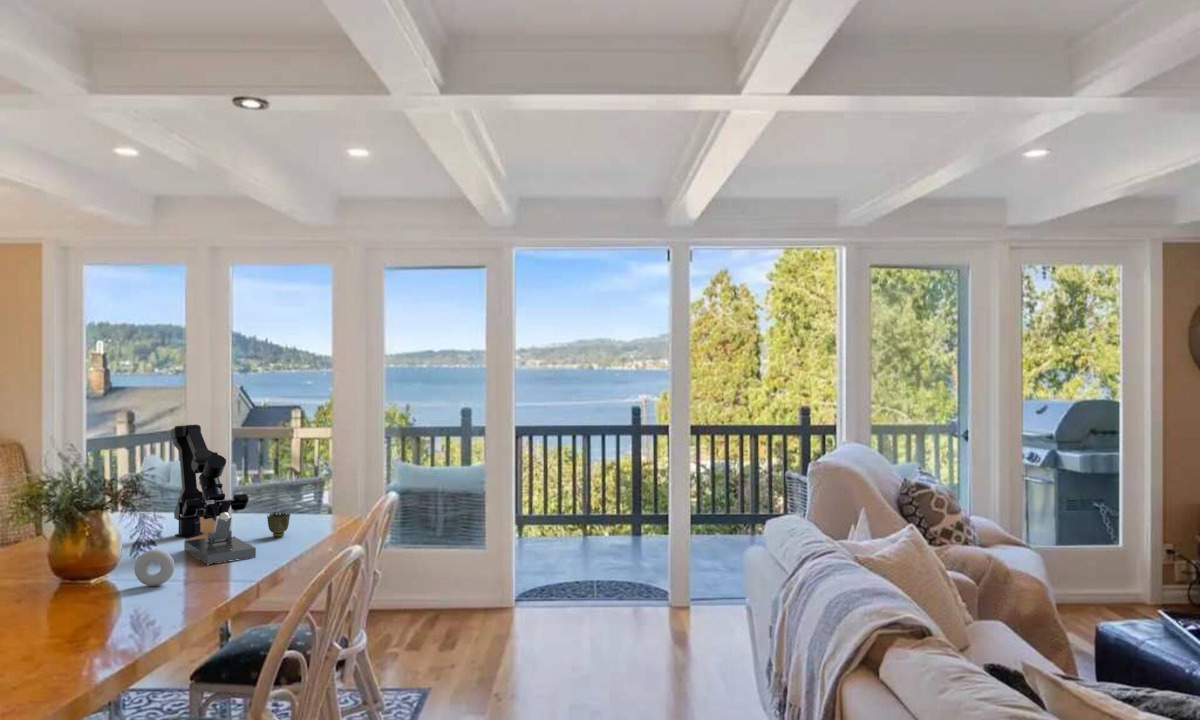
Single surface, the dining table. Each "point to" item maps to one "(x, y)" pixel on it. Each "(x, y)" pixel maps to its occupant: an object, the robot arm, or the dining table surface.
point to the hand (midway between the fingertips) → (221, 526)
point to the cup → (278, 523)
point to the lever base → (219, 549)
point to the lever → (221, 528)
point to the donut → (151, 578)
